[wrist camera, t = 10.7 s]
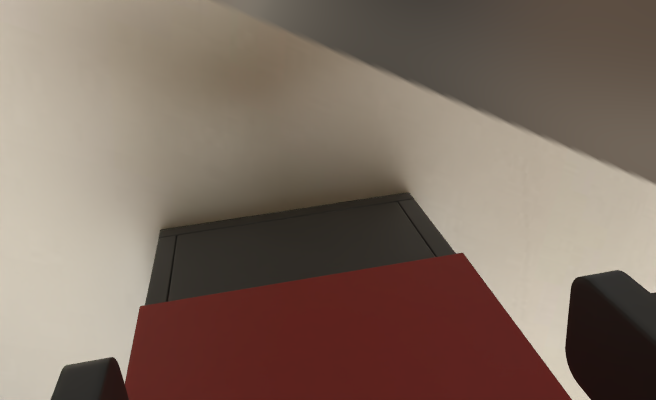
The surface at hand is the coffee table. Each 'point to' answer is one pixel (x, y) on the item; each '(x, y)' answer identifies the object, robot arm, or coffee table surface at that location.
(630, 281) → the robot arm
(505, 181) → the coffee table surface
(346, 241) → the shallow storage tray
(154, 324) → the box lid
